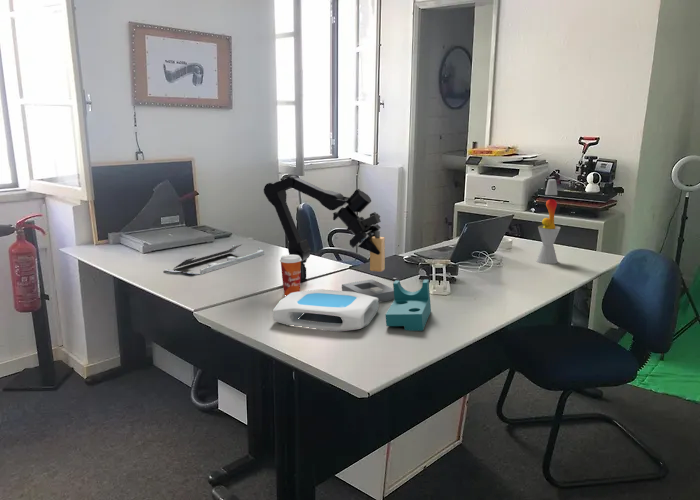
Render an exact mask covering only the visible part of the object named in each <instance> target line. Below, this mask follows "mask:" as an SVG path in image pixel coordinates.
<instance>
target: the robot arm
mask: <svg viewBox="0 0 700 500" xmlns="http://www.w3.org/2000/svg"><path fill="white" fill-rule="evenodd" d="M290 189H294V190H296V191H298V192H300V193H303V194H304V195H306V196H308V197H311V198H312V199H315V200H316V201H318V202H319V203H320V205H322V206H323V207H325V208H326V209H327V210H329V211H335V210H338V211H336V212H333V213H332V215H333V217H332V220H333V221H336V220H338V219H339V220H340V221H341V222H342V223H343V224H344V225H345V226H346V227H347V228H346V230H347V231H348V232H351V233H352V235H354V236H353V237H351V238H350V240H349V245H350V246H351V248H353V249H354V248H356V247H358V248H361V249H363V250H366V251H368V252H369V253H370V252H373V253H375V254H377V255H379V254H380V252H379V250H378V249H377V247H376V246H375V244H374V243H373V242H372V237H375V231H380V230H381V229H382V228H381V226H380V225H379V223H381V216H380V215H379V213H377V212H375V211H374V212H371V213H370V214H369V216H368V217H367V218H364V216H359V215H358V214H357V213H362V212H363V211H364V210H365V208H367V207H368V206H369V205H370V203H371V202H372V198H371V197H370V195H368V193H365V192H364V191H362V190H361V189H360V188H357V189H355V190H354V191H353V193H352V195H350V197H348V196H344V195H343V194H342V193H341V192H336V191H334V190H333V191H332V190H327V189H323V188H321V187H318V186H317V185H315V184H312V183H310V182H308V181H306V180H304V179H303V178H300V177H299V176H297V175H291V176H287V177H286V178H284V179H282V180H281V179H280V180H278V181H274V182H273V181H272V182H268V183H266V184H265V185H264V188H263V194H264V196H265V197H266V199H267V200H268V202H269V203H270V204H271V205H272V206H273V207H274V209H275V212H276V214H277V216H278V217H277V218H278V219H279V222H280V224H281V227H282V229H283V231H284V235H285V236H286V239H287V242H288V244H287V245H288V246H287V251H288V255H299V256H300V257H301V259H302V260H301V275H300V282H305V281H308V278H307V267H306V263H307V261H308V259H309V258H310V255H311V250H312V247H311V246H310V245H309V241H308V239H303V238H302V237H301V236H300V234H299V231H298V228H297V226H296V224H295V221H294V219H293V215H292V214H291V213H292V212H291V211H290V208H289V206H288V203H287V196H288V195H287V191H288V190H290ZM343 206H345V207H343ZM357 245H358V246H357Z"/></svg>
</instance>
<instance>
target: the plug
mask: <svg viewBox="0 0 700 500" xmlns="http://www.w3.org/2000/svg"><path fill="white" fill-rule="evenodd" d="M385 241H386V239H385V236H381V231H380V230H378V231H375V237H372V242H373V243H374V244H375V246H376V247H377V249H378V250H379V252H380V254H379V255H377V254H375V253H373V252H370V251H369V271H371V272H378V273H379V272H383V271H385V268H386V267H385V266H386V265H385V264H386V263H385V261H386V259H385V258H386V253H385V252H386V244H385V243H386V242H385Z"/></svg>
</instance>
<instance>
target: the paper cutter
mask: <svg viewBox="0 0 700 500" xmlns="http://www.w3.org/2000/svg"><path fill="white" fill-rule="evenodd" d="M241 246H242V244H238V245H232V246H231V247H230V249H228V250H224V251H220V252H216V253H213V254H210V255H207V256H202V257H199V258H196V257H191V258H188V259H184V261H181V262H180V264H178V265H176V266H174V267H173V269H177V268H181V267H185V266H188V265H192V264H194V263H197V262H198V263H199V262H201V261H205V260H208V259H212V258H215V257H218V256H223V255H225V254H229V253H235V252H237V249H238V248H239V247H241ZM264 255H265V250H263V249H261V247H258V249H257V251H256V252H254V253H251V254H247V255H243V256H239V257H236V256H227V257H226V261H224V262H220V263H217V262H213V263H210V264H208V266H207V267H204V268H201V269H199V273H195V272H190V273H189V274H190V275H196V276H197V275H204V274H207V273H211V272H213V271H216V270H219V269H223V268H227V267H230V266H233V265H235V264H238V263H242V262H246V261H249V260H252V259H255V258H258V257H261V256H264ZM164 270H165V271H167V272H173V273H181V271H178V270H175V271H174V270H172V269H167V268H164ZM184 273H187V272H184Z"/></svg>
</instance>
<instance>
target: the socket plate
mask: <svg viewBox="0 0 700 500" xmlns="http://www.w3.org/2000/svg"><path fill="white" fill-rule="evenodd" d="M341 291H350V292H357V293H361V294H365V295H369V296H373V297H377V298H378V303H381V302H387V301H394V288H393V287H390V286H388V285H386V284H384V283H381V282H380V281H378V280H375V279H373V278H371V279H366V280H359V281H355V282H348V283H341Z"/></svg>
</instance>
